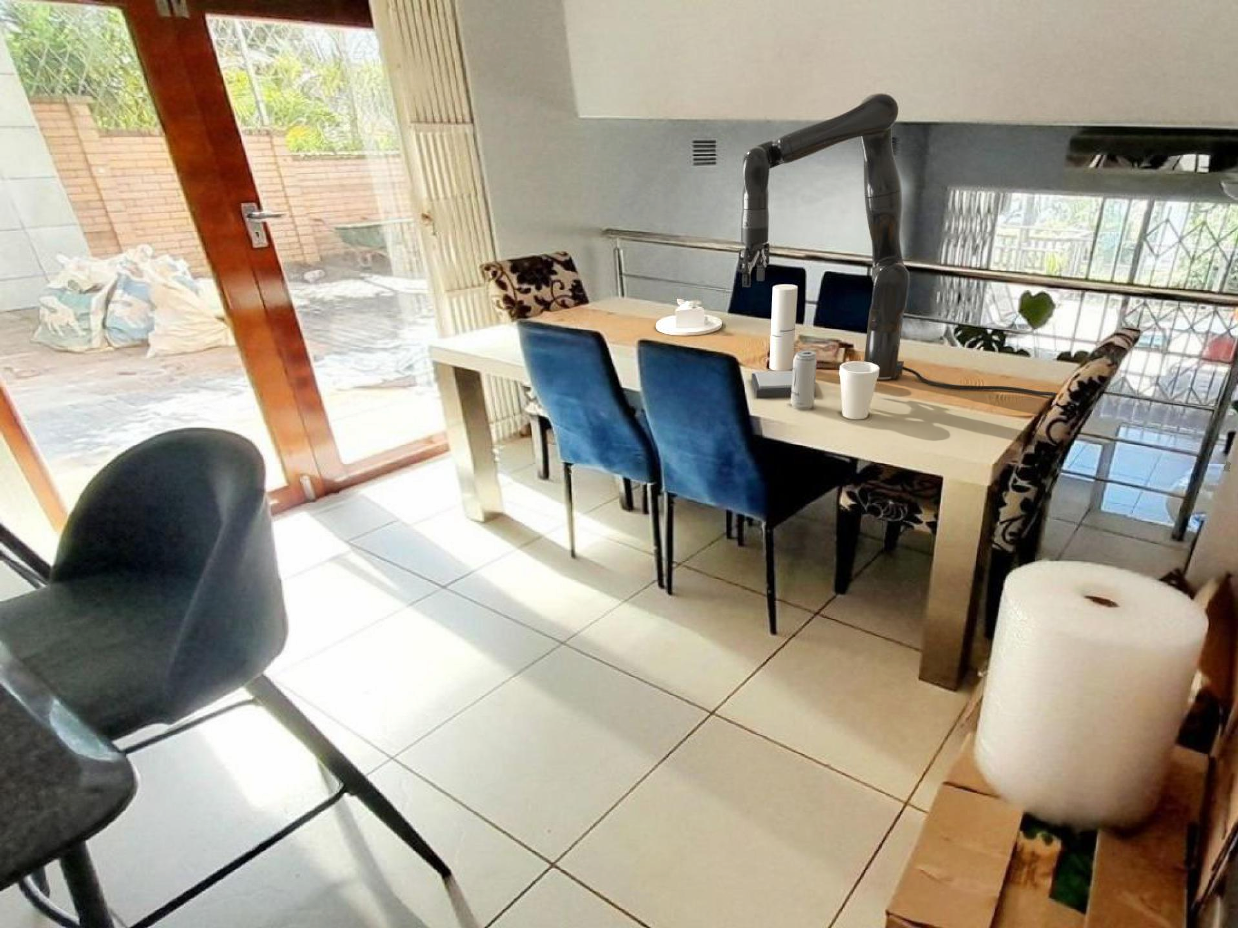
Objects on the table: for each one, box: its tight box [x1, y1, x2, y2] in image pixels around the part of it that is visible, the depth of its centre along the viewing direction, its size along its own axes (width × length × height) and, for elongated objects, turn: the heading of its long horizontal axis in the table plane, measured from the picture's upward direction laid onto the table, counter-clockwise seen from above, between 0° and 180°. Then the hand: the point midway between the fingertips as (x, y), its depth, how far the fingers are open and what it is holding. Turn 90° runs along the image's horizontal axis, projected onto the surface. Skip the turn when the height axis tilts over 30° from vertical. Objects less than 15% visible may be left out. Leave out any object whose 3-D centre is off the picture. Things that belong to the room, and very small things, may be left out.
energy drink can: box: [790, 349, 818, 411], centre depth 187 cm, size 6×6×15 cm
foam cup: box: [839, 360, 879, 420], centre depth 181 cm, size 10×9×13 cm
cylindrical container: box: [769, 283, 799, 371], centre depth 214 cm, size 7×7×25 cm
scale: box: [750, 370, 816, 399], centre depth 203 cm, size 16×14×3 cm
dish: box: [655, 298, 723, 337], centre depth 264 cm, size 25×25×11 cm
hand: (753, 283), depth 202 cm, fingers open, 8 cm apart
